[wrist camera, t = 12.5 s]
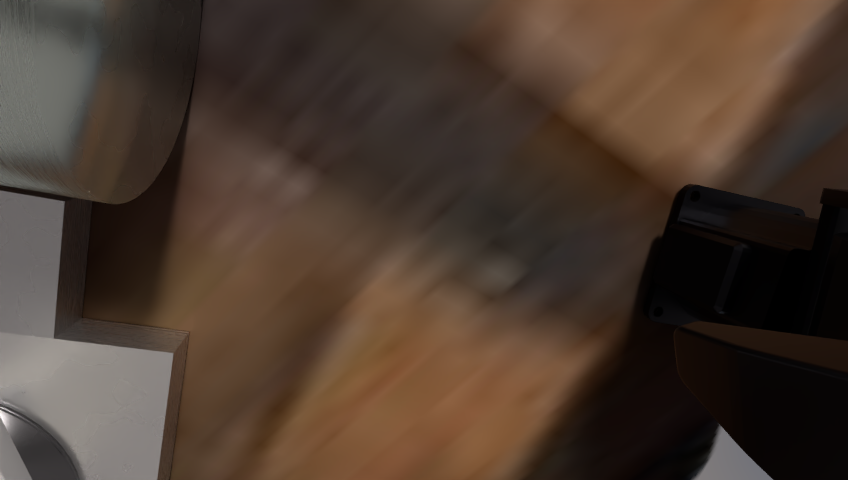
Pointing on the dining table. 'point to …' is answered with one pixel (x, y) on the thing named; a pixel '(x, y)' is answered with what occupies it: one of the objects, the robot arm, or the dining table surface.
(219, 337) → the dining table surface
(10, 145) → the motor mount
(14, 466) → the white pedestal with button
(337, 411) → the dining table surface
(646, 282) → the dining table surface
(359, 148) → the dining table surface
